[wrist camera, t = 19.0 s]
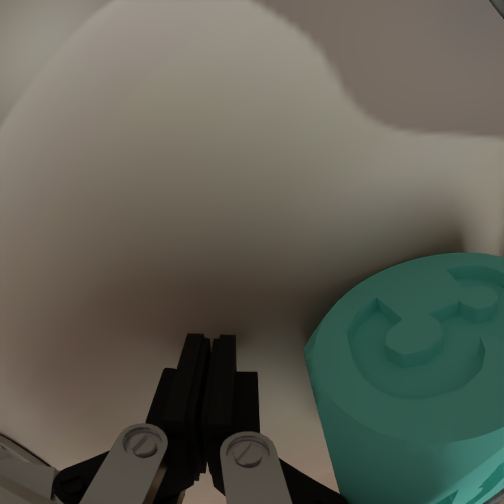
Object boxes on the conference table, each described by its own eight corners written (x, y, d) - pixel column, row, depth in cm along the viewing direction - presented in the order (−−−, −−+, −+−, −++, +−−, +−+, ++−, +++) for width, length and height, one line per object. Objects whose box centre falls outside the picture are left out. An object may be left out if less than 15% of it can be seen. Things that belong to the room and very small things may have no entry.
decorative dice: (461, 367, 12) (533, 466, 5) (329, 424, 13) (361, 559, 5) (466, 232, 10) (615, 320, 2) (289, 300, 11) (341, 520, 3)
